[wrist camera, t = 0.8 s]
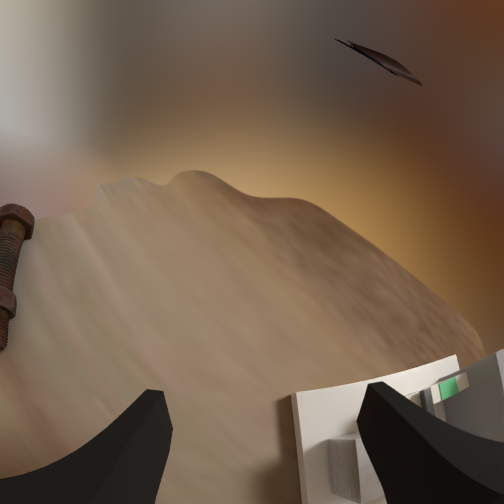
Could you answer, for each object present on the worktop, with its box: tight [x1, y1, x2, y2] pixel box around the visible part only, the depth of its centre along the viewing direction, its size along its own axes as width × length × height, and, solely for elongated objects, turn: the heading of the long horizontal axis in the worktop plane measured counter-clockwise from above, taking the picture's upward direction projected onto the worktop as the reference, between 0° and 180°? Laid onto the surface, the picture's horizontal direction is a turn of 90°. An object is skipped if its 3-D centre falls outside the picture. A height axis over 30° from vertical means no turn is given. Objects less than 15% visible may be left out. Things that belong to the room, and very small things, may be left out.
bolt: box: [0, 204, 34, 349], centre depth 19 cm, size 6×5×15 cm
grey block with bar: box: [327, 387, 435, 504], centre depth 15 cm, size 8×9×5 cm
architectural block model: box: [291, 349, 504, 504], centre depth 15 cm, size 20×14×10 cm
